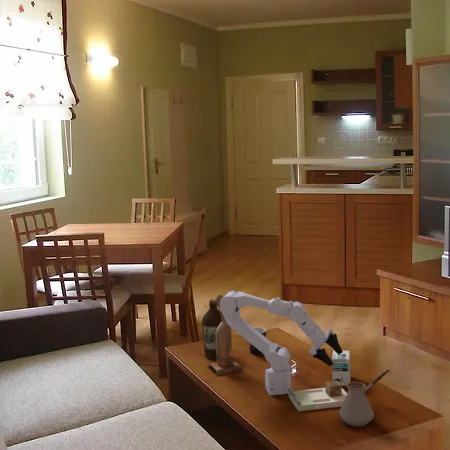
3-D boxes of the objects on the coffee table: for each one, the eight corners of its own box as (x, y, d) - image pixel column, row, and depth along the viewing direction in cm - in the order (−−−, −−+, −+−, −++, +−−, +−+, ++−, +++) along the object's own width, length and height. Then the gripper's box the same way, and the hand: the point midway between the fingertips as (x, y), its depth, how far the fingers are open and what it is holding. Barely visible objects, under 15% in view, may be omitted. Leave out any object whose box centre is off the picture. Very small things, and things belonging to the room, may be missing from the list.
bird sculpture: (243, 371, 278) (242, 295, 274) (217, 376, 273) (216, 299, 269) (231, 363, 288) (229, 290, 284) (206, 368, 283) (204, 293, 279)
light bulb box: (350, 386, 257) (349, 359, 255) (332, 385, 258) (331, 358, 257) (350, 376, 267) (350, 350, 266) (333, 375, 269) (333, 349, 267)
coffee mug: (267, 355, 295) (266, 333, 294) (247, 355, 295) (247, 333, 294) (266, 346, 307) (265, 325, 305) (247, 347, 307) (246, 325, 305)
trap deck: (298, 411, 237) (298, 401, 236) (288, 396, 250) (288, 387, 249) (352, 405, 240) (352, 395, 240) (340, 391, 253) (340, 382, 252)
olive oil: (207, 350, 304) (205, 296, 301) (230, 351, 301) (227, 297, 298) (200, 358, 294) (197, 303, 290) (223, 360, 291) (221, 303, 288)
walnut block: (329, 397, 243) (329, 386, 242) (325, 392, 247) (325, 381, 247) (341, 395, 244) (341, 385, 243) (337, 391, 248) (337, 380, 248)
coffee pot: (355, 432, 219) (354, 388, 217) (332, 420, 229) (331, 377, 227) (402, 415, 230) (402, 373, 228) (378, 404, 240) (378, 364, 238)
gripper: (309, 337, 241) (334, 367, 240) (328, 316, 251) (351, 344, 251) (297, 344, 246) (321, 373, 245) (316, 323, 256) (339, 350, 256)
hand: (336, 359), depth 248 cm, fingers open, 7 cm apart
